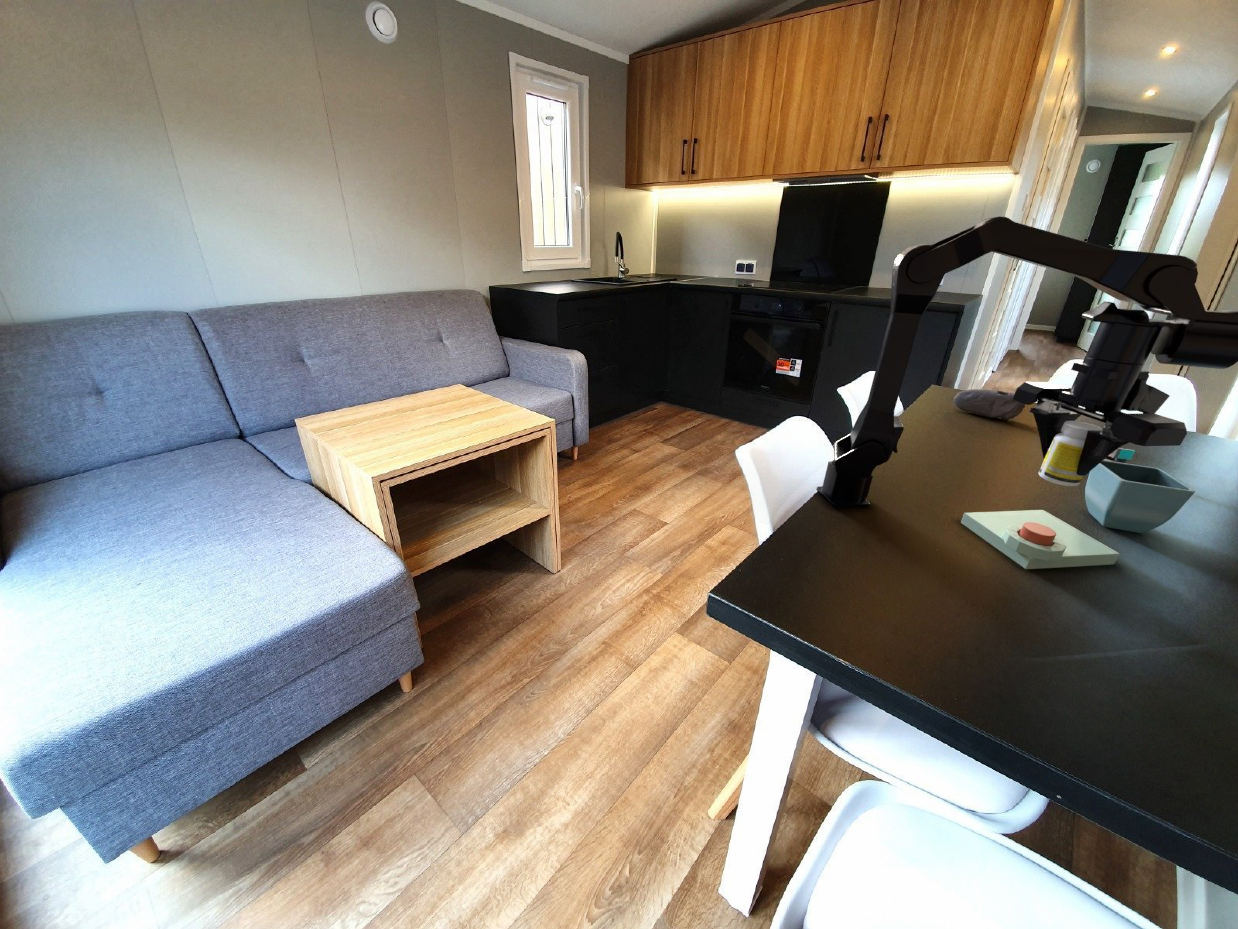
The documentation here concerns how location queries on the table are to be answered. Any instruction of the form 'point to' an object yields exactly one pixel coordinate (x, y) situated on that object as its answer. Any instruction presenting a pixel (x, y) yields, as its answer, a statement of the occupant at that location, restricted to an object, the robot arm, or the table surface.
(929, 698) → the table surface
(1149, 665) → the table surface
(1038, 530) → the button
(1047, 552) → the kitchen scale
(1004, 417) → the perforated stone tool
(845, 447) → the robot arm
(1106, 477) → the flower pot
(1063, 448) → the supplement bottle
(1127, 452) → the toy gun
